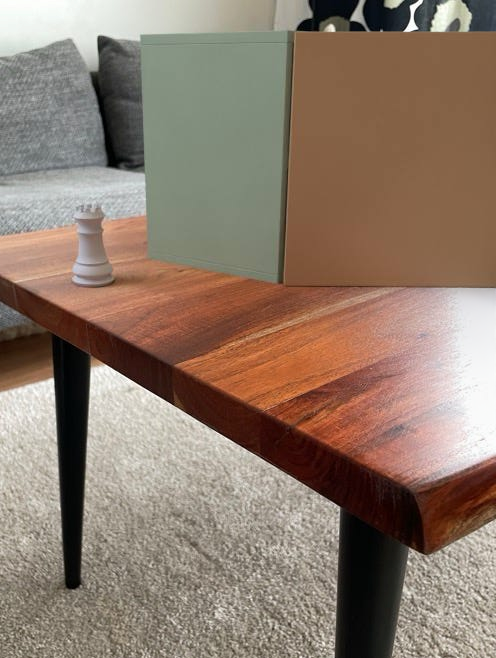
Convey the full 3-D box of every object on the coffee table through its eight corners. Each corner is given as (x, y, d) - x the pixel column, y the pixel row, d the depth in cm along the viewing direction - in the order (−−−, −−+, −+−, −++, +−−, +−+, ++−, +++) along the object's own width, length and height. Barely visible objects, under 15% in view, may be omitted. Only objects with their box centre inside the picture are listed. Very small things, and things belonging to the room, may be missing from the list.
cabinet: (374, 242, 93) (394, 37, 83) (277, 284, 75) (287, 30, 66) (257, 225, 103) (263, 40, 93) (147, 259, 85) (139, 34, 75)
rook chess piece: (78, 276, 78) (72, 201, 75) (118, 277, 78) (115, 202, 75) (67, 288, 74) (60, 209, 71) (109, 289, 74) (105, 210, 71)
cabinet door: (544, 307, 68) (599, 28, 58) (289, 306, 68) (302, 28, 59) (513, 284, 75) (559, 31, 65) (283, 283, 75) (294, 32, 66)
